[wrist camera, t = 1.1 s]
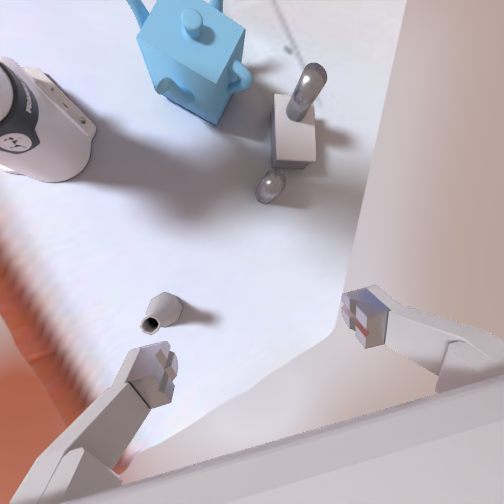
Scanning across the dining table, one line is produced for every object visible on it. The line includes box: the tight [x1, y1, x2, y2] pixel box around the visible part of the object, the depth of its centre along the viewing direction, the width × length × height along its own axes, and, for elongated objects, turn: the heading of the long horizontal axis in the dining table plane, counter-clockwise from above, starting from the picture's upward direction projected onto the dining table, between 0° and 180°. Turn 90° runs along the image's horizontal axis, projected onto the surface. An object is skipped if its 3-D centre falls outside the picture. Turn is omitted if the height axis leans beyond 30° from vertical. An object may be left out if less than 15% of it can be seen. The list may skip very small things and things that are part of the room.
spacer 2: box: [286, 63, 327, 122], centre depth 39 cm, size 4×4×9 cm
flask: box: [140, 292, 183, 335], centre depth 39 cm, size 7×7×10 cm
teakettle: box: [126, 0, 253, 125], centre depth 38 cm, size 19×19×15 cm
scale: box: [270, 94, 316, 169], centre depth 46 cm, size 14×9×6 cm, turn 2°
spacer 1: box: [255, 170, 286, 204], centre depth 44 cm, size 4×4×9 cm
